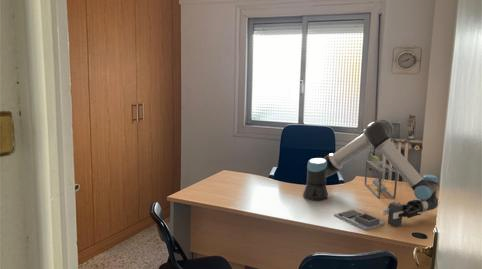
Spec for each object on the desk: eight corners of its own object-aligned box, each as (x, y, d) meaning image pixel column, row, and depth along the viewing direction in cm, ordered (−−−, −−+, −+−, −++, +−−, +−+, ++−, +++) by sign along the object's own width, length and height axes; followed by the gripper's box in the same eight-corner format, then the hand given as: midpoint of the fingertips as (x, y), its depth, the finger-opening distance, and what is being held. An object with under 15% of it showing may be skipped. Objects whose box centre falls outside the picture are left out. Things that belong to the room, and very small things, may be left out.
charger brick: (387, 223, 190) (389, 202, 188) (392, 222, 192) (394, 201, 190) (396, 227, 186) (398, 205, 184) (401, 225, 188) (403, 204, 186)
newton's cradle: (364, 184, 257) (366, 159, 254) (379, 185, 257) (381, 160, 254) (378, 199, 227) (380, 171, 224) (395, 199, 227) (398, 171, 224)
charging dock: (333, 216, 199) (334, 209, 198) (352, 211, 206) (352, 205, 205) (365, 230, 181) (365, 223, 180) (383, 224, 188) (384, 218, 188)
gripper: (432, 218, 190) (404, 227, 178) (401, 207, 205) (373, 215, 193) (433, 204, 189) (405, 213, 177) (402, 194, 204) (374, 201, 192)
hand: (388, 214), depth 185 cm, fingers closed on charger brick, 5 cm apart
